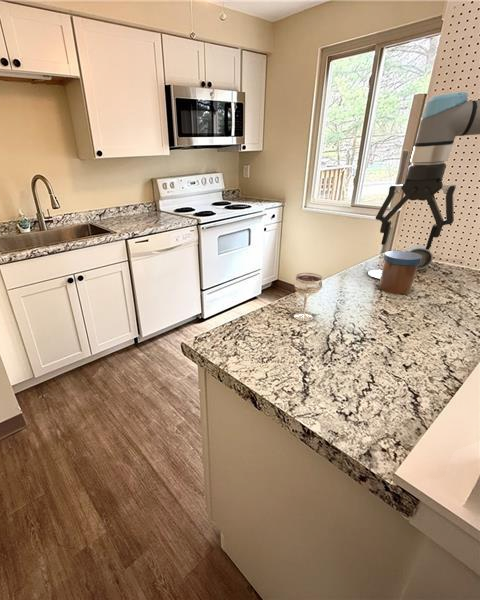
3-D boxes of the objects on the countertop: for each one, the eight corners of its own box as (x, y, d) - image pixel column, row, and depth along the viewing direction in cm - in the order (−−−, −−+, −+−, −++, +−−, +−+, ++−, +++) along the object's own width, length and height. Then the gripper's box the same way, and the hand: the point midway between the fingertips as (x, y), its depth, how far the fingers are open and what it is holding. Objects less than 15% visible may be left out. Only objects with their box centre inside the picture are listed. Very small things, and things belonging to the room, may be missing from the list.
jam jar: (417, 291, 94) (427, 258, 89) (396, 295, 92) (405, 262, 88) (392, 282, 101) (400, 251, 97) (372, 286, 100) (379, 255, 95)
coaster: (411, 277, 102) (412, 276, 102) (387, 283, 101) (387, 282, 100) (383, 268, 111) (384, 267, 111) (360, 273, 110) (360, 272, 109)
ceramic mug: (427, 263, 112) (433, 242, 108) (429, 271, 106) (435, 249, 102) (390, 261, 117) (394, 241, 114) (390, 268, 112) (395, 247, 108)
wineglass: (296, 323, 84) (302, 283, 78) (285, 312, 90) (290, 273, 85) (322, 321, 83) (329, 280, 78) (309, 310, 90) (314, 271, 85)
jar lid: (428, 262, 90) (430, 256, 89) (404, 267, 88) (405, 261, 87) (399, 254, 97) (400, 249, 97) (376, 259, 96) (377, 253, 95)
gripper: (489, 159, 76) (458, 247, 86) (380, 164, 91) (364, 238, 101) (488, 162, 72) (455, 255, 81) (373, 166, 87) (357, 244, 96)
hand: (404, 245), depth 91 cm, fingers open, 10 cm apart
